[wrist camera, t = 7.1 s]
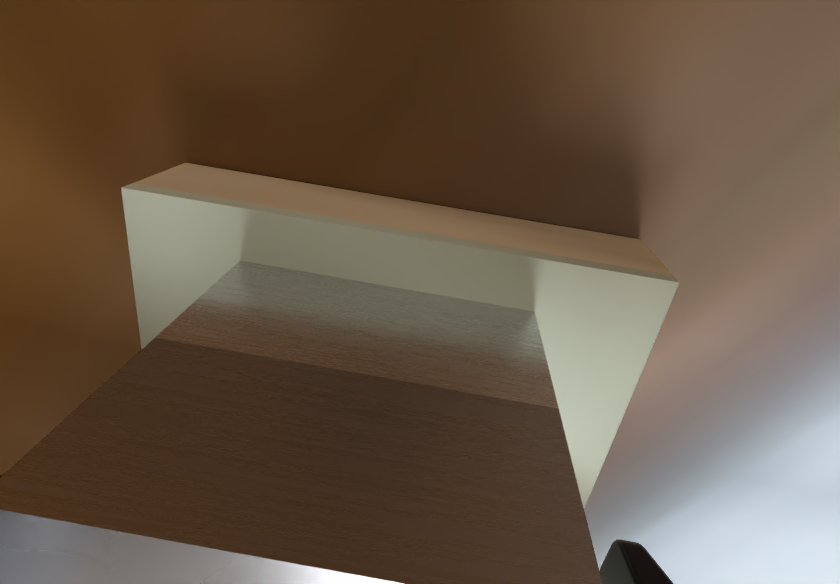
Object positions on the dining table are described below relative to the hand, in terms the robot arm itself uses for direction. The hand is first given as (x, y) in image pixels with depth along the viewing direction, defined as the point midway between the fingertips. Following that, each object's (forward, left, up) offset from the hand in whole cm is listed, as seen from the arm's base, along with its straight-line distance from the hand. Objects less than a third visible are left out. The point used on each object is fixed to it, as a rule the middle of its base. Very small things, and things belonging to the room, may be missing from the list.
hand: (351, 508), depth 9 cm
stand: (0, 0, -4) cm, 4 cm away
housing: (0, 0, -2) cm, 2 cm away
